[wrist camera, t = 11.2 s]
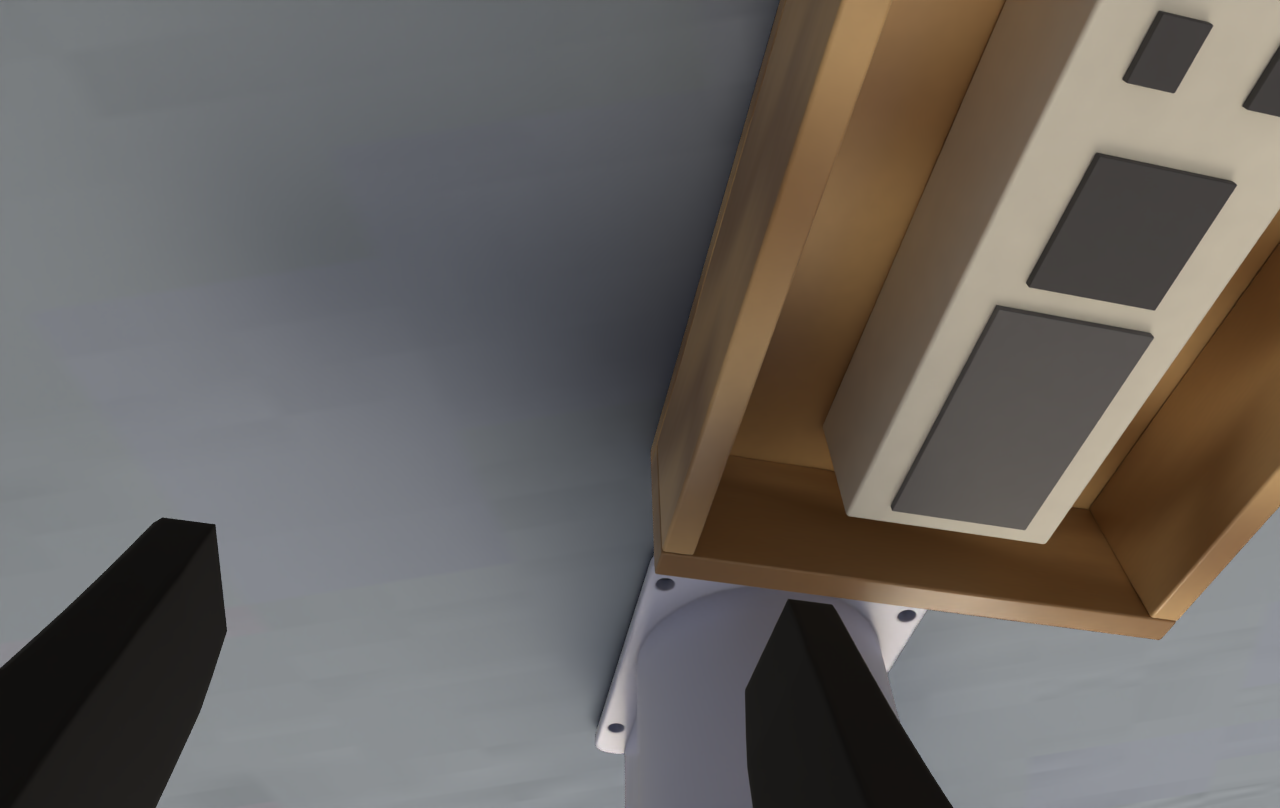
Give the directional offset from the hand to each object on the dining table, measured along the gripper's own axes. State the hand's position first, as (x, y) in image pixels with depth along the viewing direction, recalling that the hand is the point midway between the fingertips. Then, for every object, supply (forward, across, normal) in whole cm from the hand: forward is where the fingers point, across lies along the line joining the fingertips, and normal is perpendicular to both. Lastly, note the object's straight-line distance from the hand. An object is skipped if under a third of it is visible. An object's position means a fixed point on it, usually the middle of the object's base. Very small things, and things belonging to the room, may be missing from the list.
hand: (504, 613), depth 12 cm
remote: (+9, -9, -4) cm, 13 cm away
